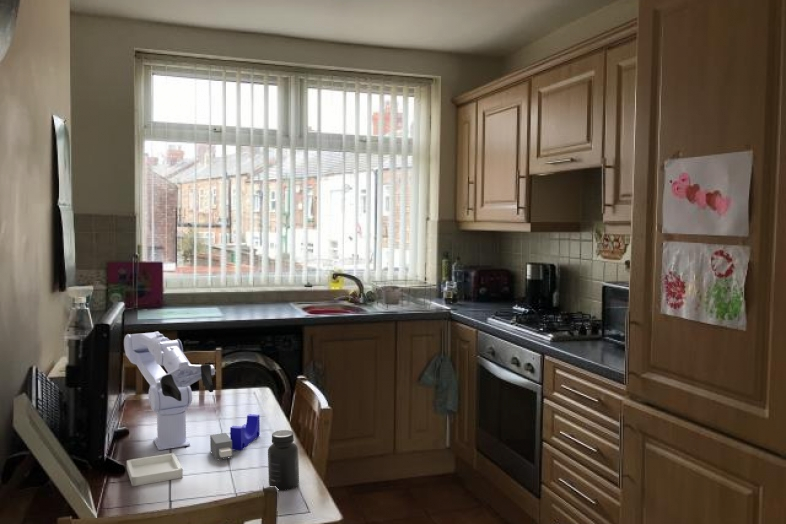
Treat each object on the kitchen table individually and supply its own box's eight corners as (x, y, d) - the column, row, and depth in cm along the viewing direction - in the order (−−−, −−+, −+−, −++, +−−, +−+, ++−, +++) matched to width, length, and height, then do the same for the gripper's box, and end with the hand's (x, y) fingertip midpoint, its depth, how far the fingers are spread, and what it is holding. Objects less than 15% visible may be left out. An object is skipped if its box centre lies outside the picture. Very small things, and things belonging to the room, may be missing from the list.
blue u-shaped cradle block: (244, 434, 184) (244, 413, 184) (259, 436, 184) (259, 414, 183) (225, 449, 173) (224, 427, 172) (241, 450, 172) (241, 428, 171)
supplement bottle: (285, 476, 154) (284, 426, 153) (305, 484, 150) (304, 432, 149) (262, 486, 149) (261, 433, 148) (282, 494, 144) (281, 440, 144)
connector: (210, 451, 171) (210, 435, 171) (226, 449, 173) (225, 432, 173) (218, 463, 163) (217, 446, 162) (234, 461, 164) (234, 443, 164)
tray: (126, 468, 159) (126, 460, 159) (174, 460, 164) (174, 452, 164) (132, 486, 149) (131, 477, 149) (182, 477, 154) (182, 469, 154)
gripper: (148, 360, 164) (163, 386, 153) (205, 346, 171) (224, 370, 161) (150, 385, 166) (166, 412, 156) (207, 370, 174) (225, 395, 164)
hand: (195, 393), depth 159 cm, fingers open, 7 cm apart
